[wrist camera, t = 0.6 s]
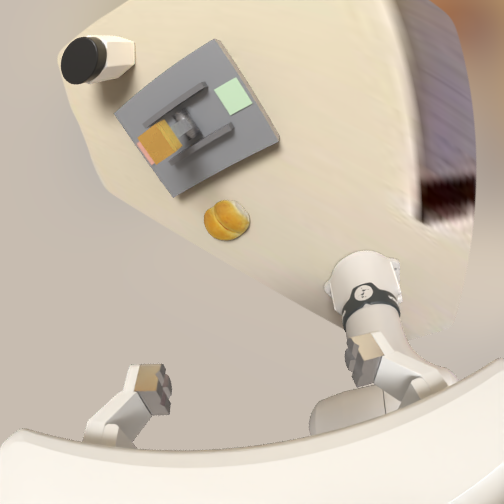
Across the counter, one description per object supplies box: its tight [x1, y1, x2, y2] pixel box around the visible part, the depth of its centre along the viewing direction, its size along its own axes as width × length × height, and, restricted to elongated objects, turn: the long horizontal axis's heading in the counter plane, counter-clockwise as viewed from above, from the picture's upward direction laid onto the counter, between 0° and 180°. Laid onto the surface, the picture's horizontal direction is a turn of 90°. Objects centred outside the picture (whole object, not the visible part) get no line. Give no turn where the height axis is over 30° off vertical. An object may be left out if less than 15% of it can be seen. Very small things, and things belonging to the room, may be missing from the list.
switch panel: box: [114, 39, 279, 198], centre depth 42 cm, size 20×22×6 cm
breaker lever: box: [138, 108, 201, 165], centre depth 37 cm, size 5×3×13 cm, turn 30°
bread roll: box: [204, 200, 250, 240], centre depth 56 cm, size 8×9×4 cm
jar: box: [61, 35, 135, 84], centre depth 33 cm, size 9×8×12 cm
